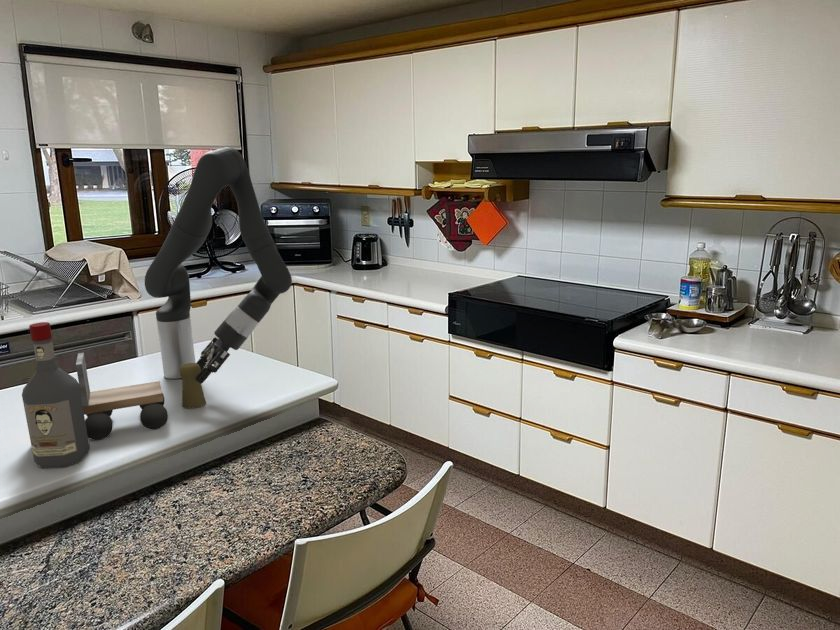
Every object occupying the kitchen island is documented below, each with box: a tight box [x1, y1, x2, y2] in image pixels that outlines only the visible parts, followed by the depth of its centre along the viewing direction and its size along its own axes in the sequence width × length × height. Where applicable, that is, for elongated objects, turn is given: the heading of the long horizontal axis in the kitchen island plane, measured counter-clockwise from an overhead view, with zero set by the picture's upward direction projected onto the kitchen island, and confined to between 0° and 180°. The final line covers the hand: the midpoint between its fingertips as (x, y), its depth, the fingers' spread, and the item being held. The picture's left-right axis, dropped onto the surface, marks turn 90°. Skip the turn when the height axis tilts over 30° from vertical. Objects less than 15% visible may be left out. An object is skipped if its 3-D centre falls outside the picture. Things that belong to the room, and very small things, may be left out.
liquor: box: [21, 321, 91, 469], centre depth 135 cm, size 9×9×30 cm
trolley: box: [75, 352, 169, 441], centre depth 154 cm, size 14×18×18 cm
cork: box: [179, 362, 207, 409], centre depth 166 cm, size 6×6×11 cm
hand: (196, 376), depth 166 cm, fingers open, 8 cm apart
